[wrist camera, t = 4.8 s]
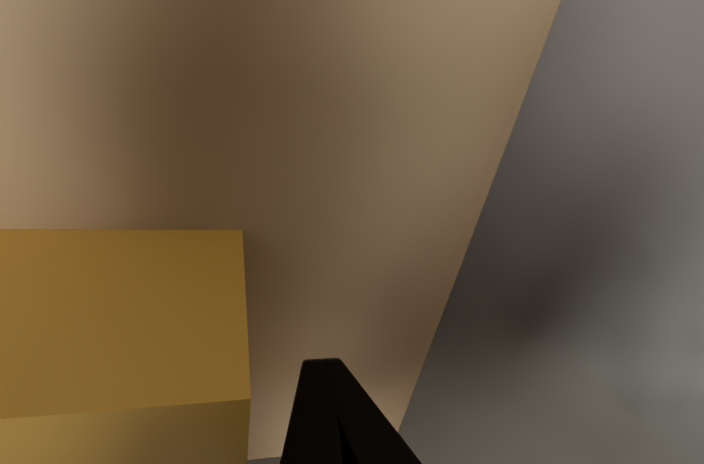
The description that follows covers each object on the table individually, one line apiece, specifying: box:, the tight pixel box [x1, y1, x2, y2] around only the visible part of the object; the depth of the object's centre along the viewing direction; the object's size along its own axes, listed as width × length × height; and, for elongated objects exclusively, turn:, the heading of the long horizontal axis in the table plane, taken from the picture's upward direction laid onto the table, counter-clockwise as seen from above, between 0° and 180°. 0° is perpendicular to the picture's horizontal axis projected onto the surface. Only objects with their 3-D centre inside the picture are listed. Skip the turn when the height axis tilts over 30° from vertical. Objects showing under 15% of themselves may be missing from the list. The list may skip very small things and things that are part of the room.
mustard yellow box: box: [0, 229, 251, 464], centre depth 8 cm, size 7×5×4 cm
